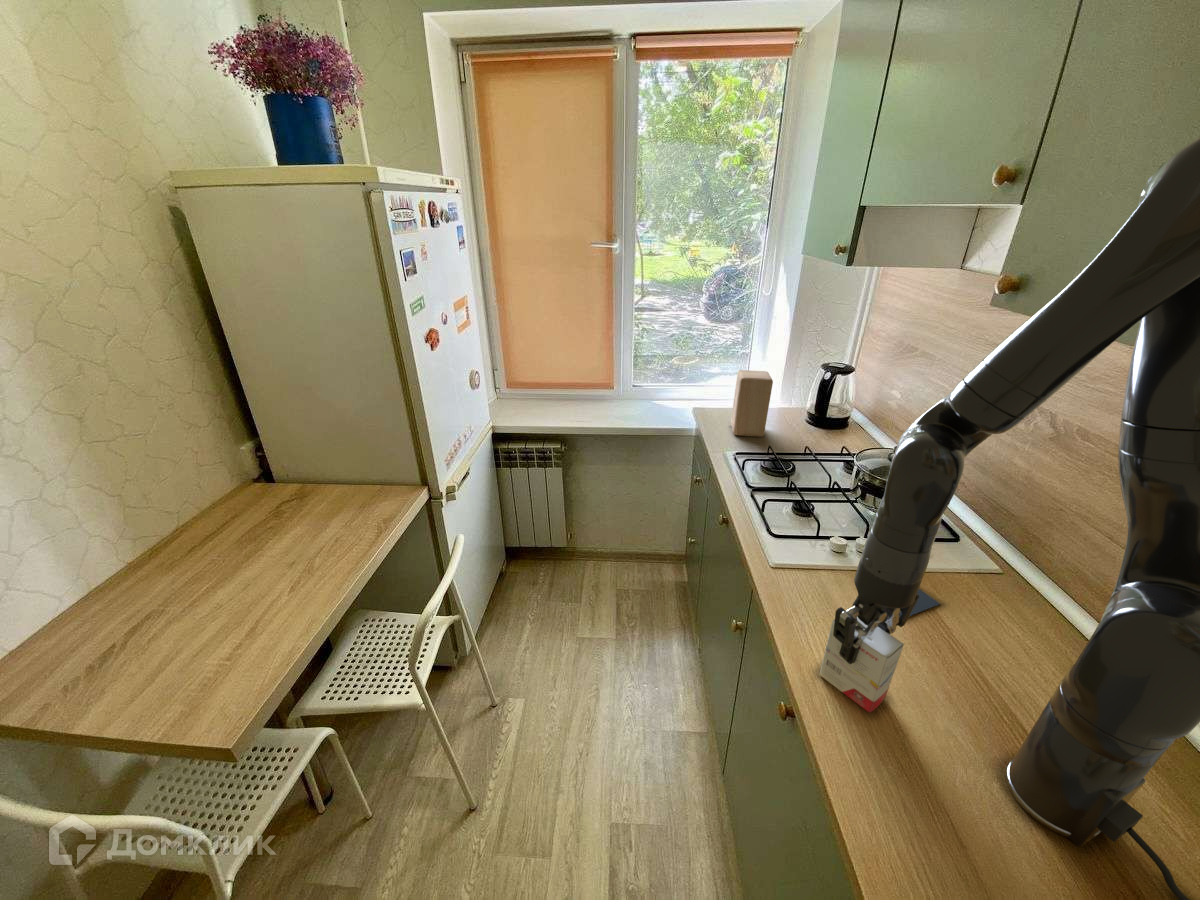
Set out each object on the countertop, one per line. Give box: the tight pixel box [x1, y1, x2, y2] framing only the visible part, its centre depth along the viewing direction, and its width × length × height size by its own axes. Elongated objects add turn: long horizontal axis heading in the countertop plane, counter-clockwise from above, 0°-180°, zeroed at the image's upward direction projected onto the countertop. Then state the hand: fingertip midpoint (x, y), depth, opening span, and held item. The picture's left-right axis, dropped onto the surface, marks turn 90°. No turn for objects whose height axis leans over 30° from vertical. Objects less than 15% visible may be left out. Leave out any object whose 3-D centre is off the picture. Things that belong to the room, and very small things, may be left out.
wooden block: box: [730, 369, 774, 438], centre depth 162 cm, size 10×10×20 cm
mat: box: [899, 588, 941, 617], centre depth 95 cm, size 9×10×1 cm
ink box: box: [819, 617, 905, 713], centre depth 75 cm, size 9×5×12 cm, turn 34°
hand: (861, 652), depth 74 cm, fingers closed on ink box, 5 cm apart
